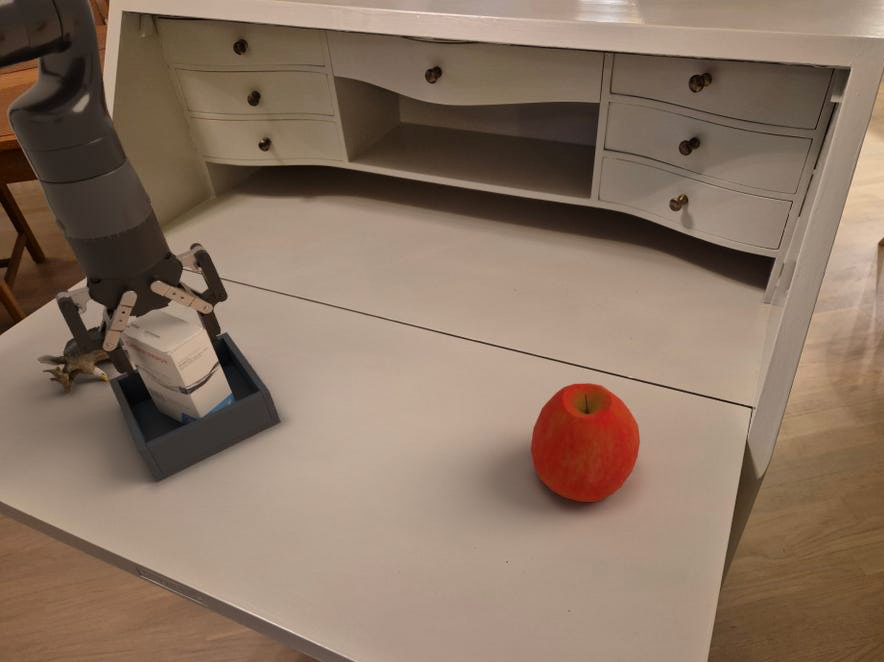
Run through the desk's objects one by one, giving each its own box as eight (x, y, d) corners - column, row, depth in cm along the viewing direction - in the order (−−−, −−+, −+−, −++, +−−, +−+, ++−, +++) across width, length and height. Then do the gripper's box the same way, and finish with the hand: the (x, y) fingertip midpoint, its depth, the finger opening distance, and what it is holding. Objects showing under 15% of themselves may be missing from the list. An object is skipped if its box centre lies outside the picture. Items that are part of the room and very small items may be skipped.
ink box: (241, 409, 72) (207, 327, 64) (207, 438, 69) (167, 355, 61) (191, 385, 76) (153, 304, 68) (156, 412, 72) (113, 330, 65)
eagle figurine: (93, 399, 74) (146, 344, 79) (37, 359, 71) (96, 303, 76) (77, 406, 79) (128, 353, 84) (25, 368, 76) (81, 316, 81)
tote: (157, 482, 66) (139, 451, 62) (126, 410, 74) (108, 379, 71) (281, 422, 71) (269, 391, 68) (238, 361, 80) (226, 331, 77)
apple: (639, 444, 66) (652, 369, 59) (626, 525, 59) (638, 449, 52) (543, 426, 69) (544, 352, 62) (519, 501, 61) (517, 426, 55)
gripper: (175, 177, 62) (226, 312, 72) (11, 225, 56) (93, 365, 66) (199, 204, 57) (250, 344, 67) (22, 259, 51) (109, 404, 61)
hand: (172, 354), depth 67 cm, fingers open, 8 cm apart
